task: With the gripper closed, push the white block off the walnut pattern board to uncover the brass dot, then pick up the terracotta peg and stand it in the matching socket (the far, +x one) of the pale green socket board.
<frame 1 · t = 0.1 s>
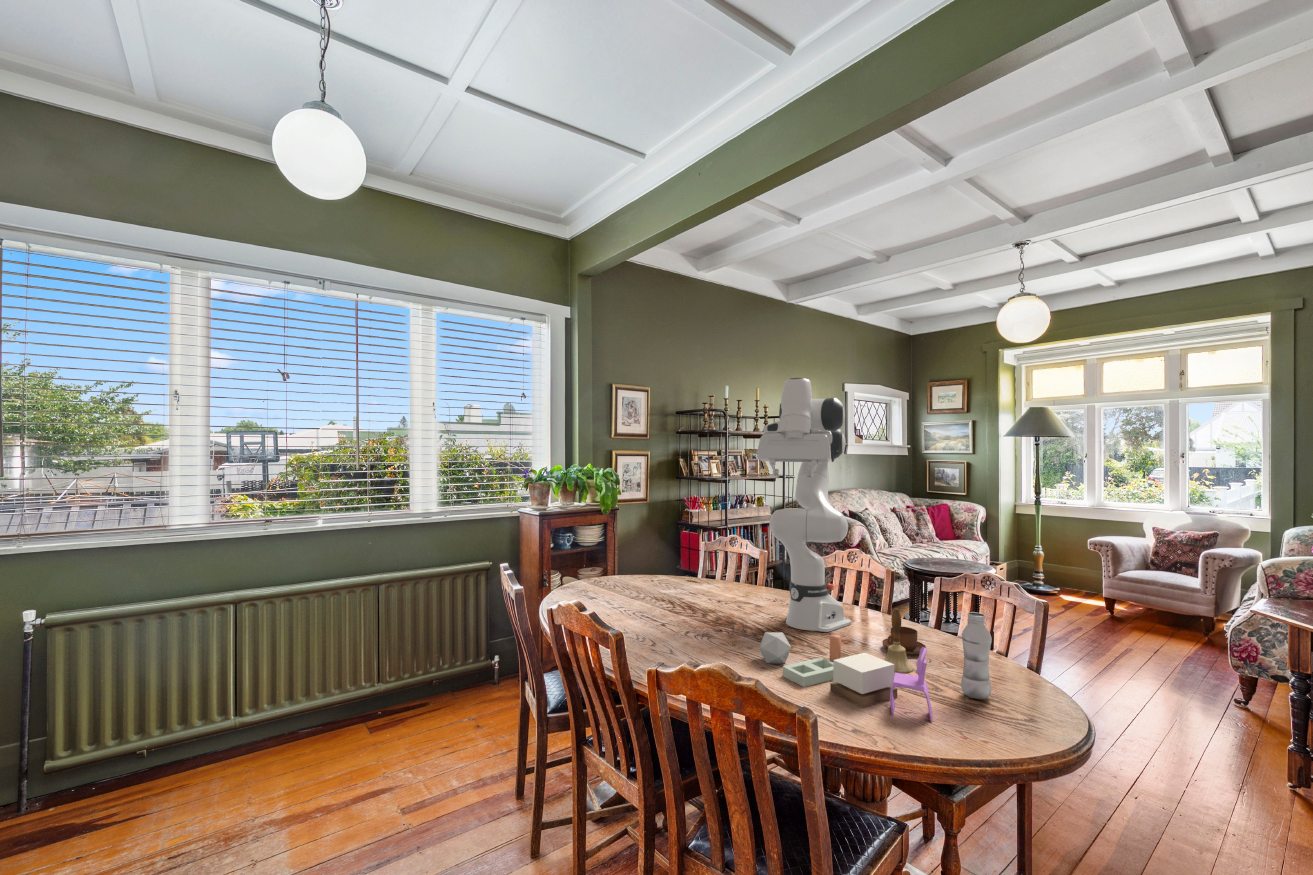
hand: (792, 476, 164), 52 cm above the table, tool tilted 20°, fingers open, 8 cm apart
socket board: (813, 676, 154), on the table
plastic bottle: (976, 698, 142), on the table
cup and saucer: (903, 651, 174), on the table
white block: (863, 672, 143), point 5 cm above the table, slide at 0.0 cm
toy chair: (911, 713, 134), on the table
terracotta peg: (835, 665, 162), on the table
die: (774, 662, 164), on the table
pattern board: (863, 694, 143), on the table
hand bell: (896, 668, 161), on the table
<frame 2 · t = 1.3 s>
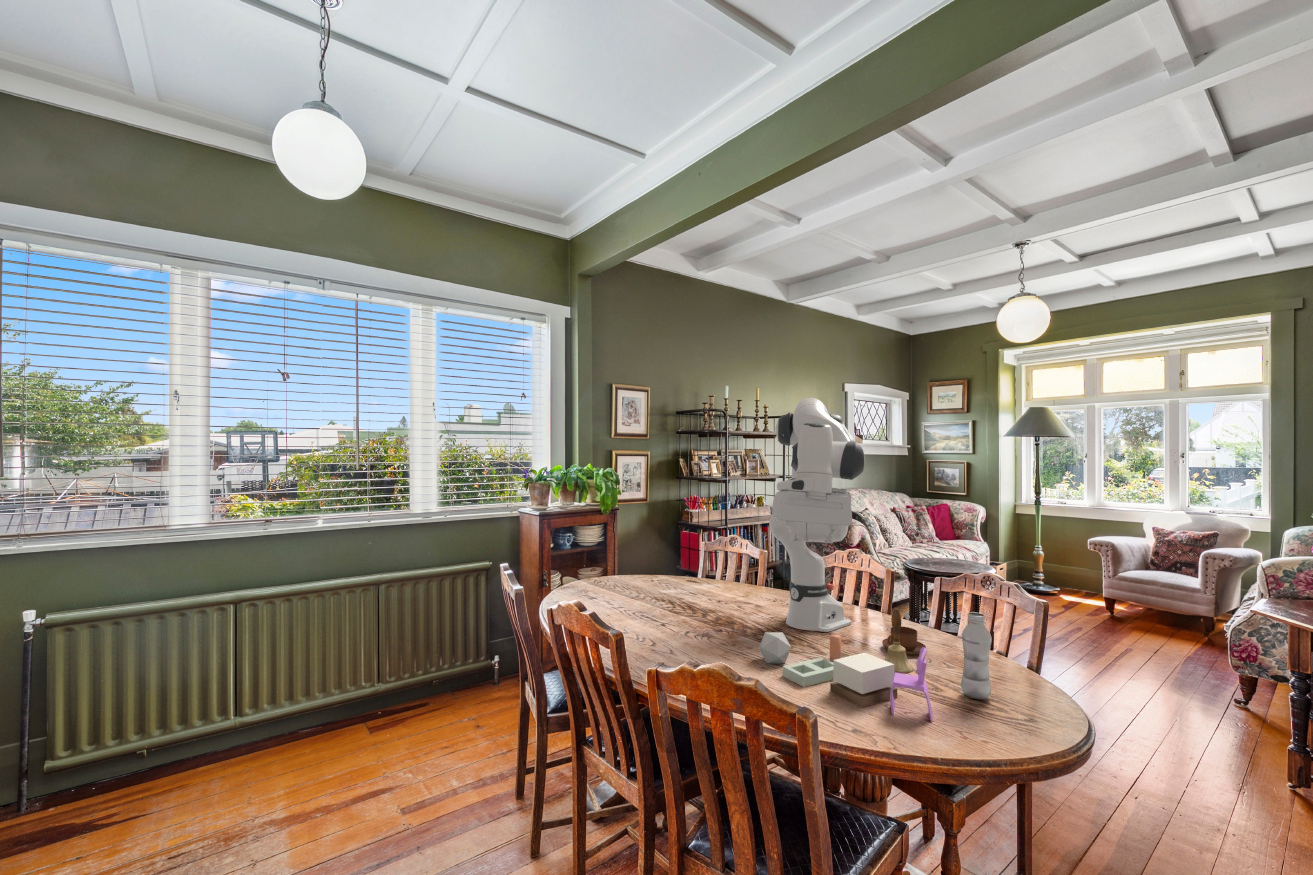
hand: (811, 542, 144), 37 cm above the table, tool pointing down, fingers open, 8 cm apart
nothing on the table moved.
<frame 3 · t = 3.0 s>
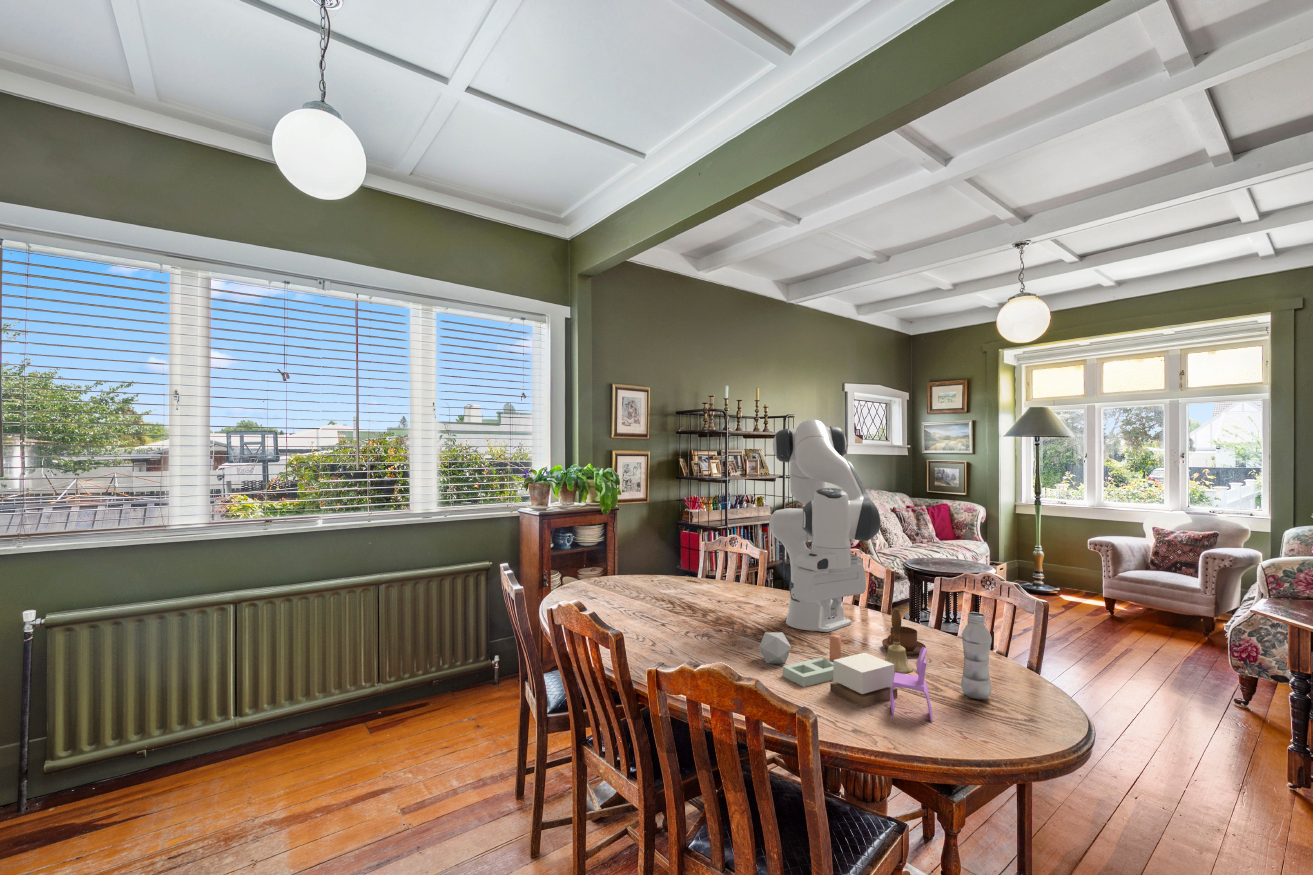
hand: (830, 616, 138), 20 cm above the table, tool pointing down, fingers closed
nothing on the table moved.
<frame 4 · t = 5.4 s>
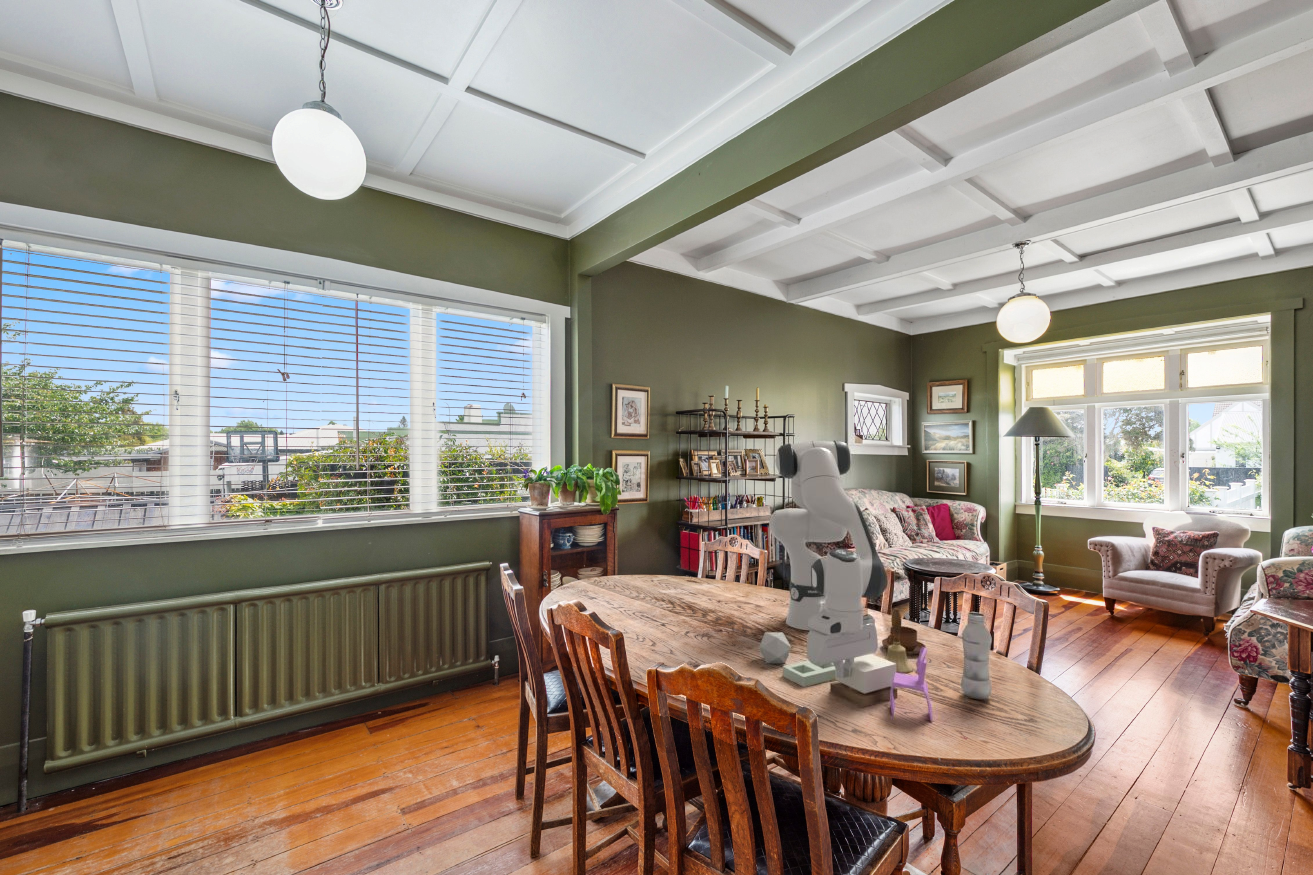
hand: (843, 676, 140), 5 cm above the table, tool pointing down, fingers closed
white block: (865, 671, 144), point 5 cm above the table, slide at 0.7 cm, touching gripper
everything else where it was.
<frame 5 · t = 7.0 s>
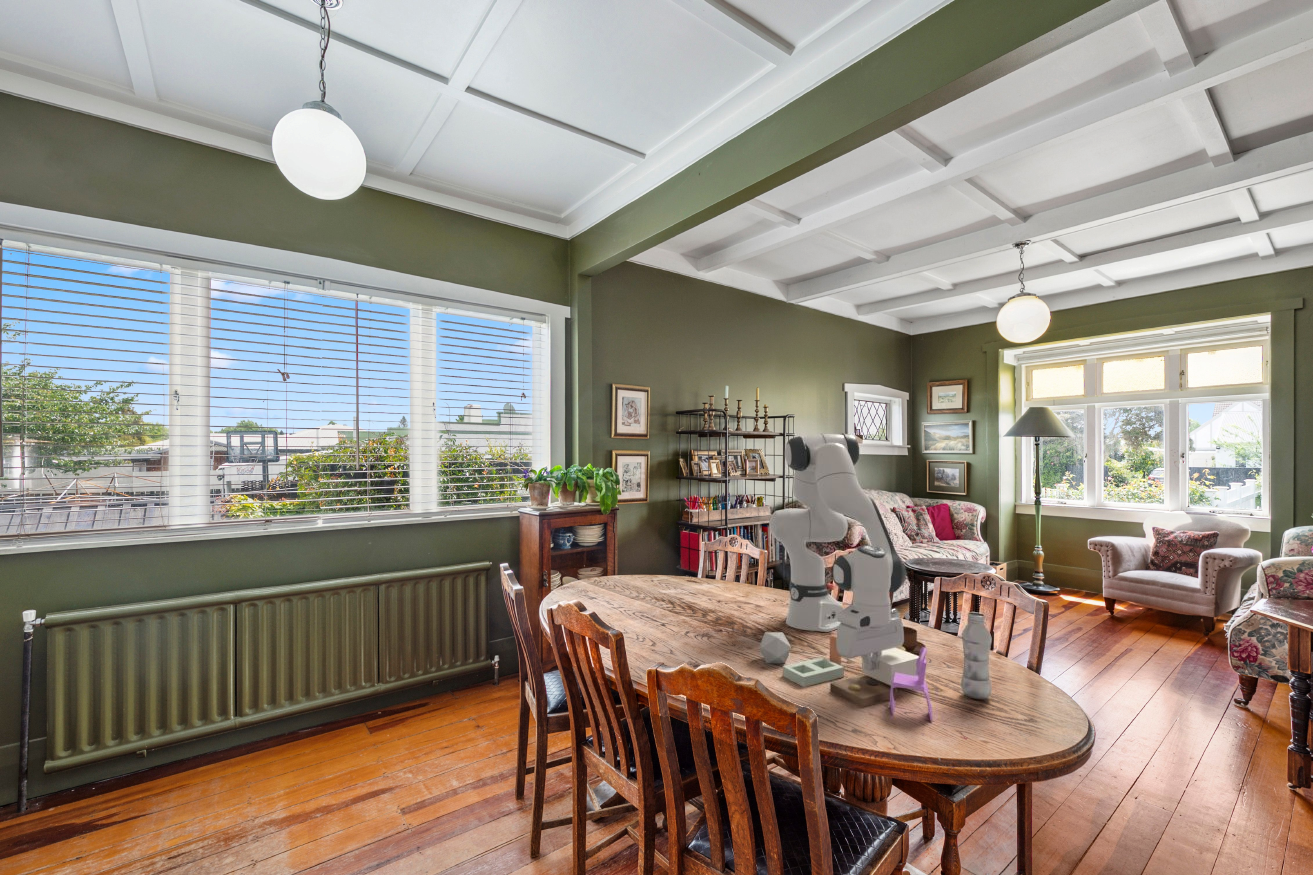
hand: (871, 669, 145), 6 cm above the table, tool pointing down, fingers closed
white block: (891, 665, 148), point 5 cm above the table, slide at 10.1 cm, touching gripper
everything else where it was.
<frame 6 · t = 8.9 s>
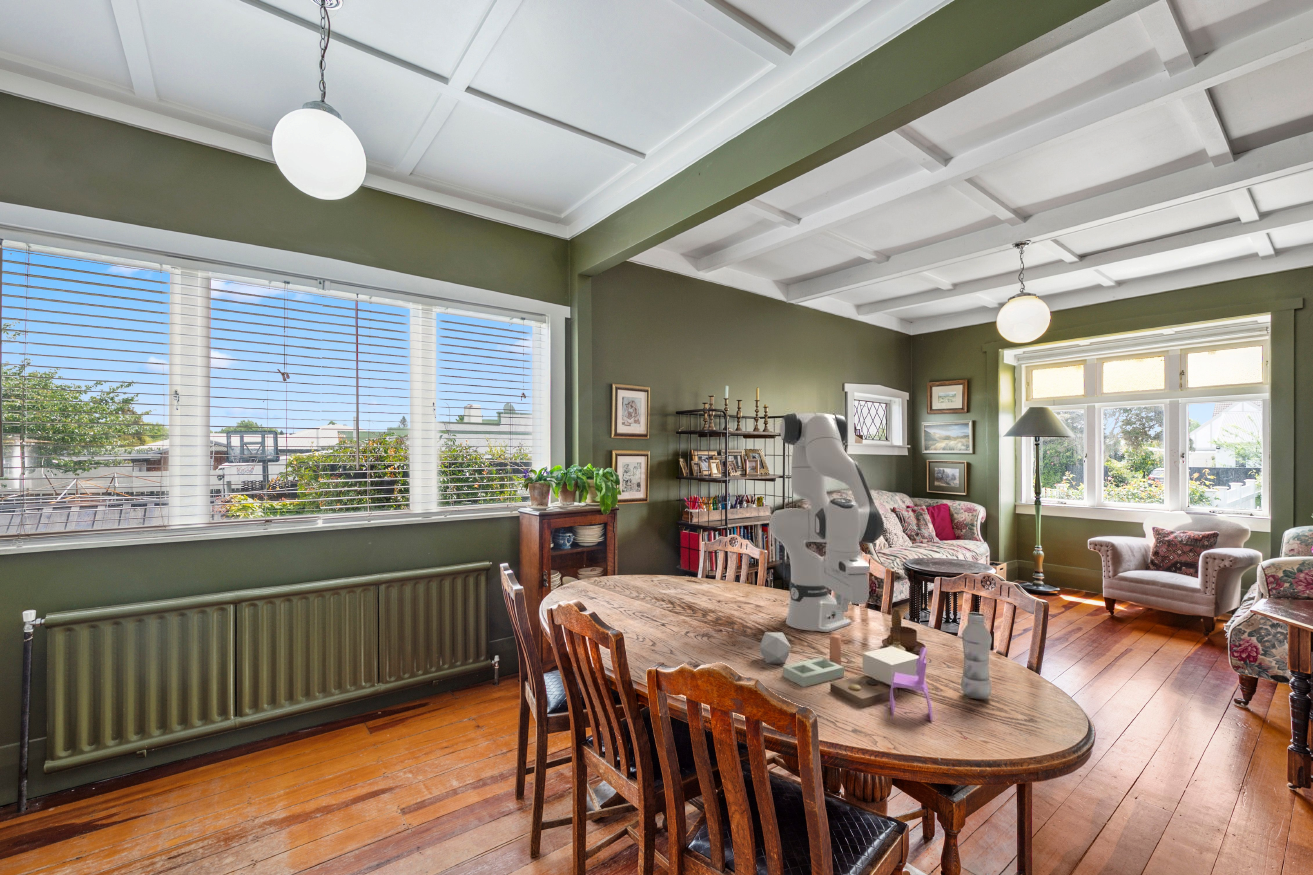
hand: (842, 610, 158), 16 cm above the table, tool pointing down, fingers closed
white block: (892, 665, 148), point 5 cm above the table, slide at 10.2 cm
everything else where it was.
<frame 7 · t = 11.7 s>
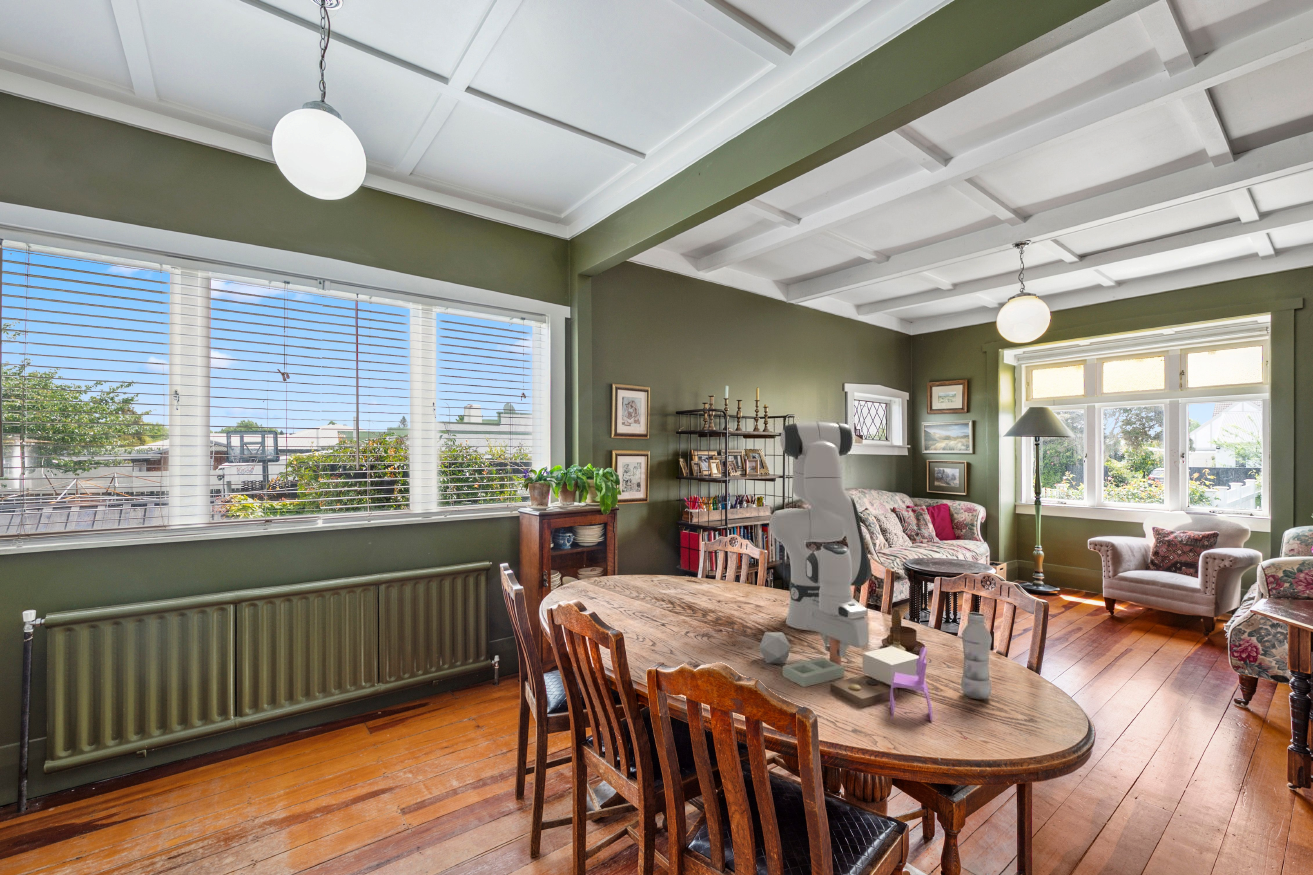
hand: (835, 653, 162), 3 cm above the table, tool pointing down, fingers closed on terracotta peg, 3 cm apart
terracotta peg: (835, 665, 162), on the table, touching gripper
everything else where it was.
when the fingers open (5 cm above the table, at t = 17.4 s): terracotta peg drops 1 cm, resting in socket board.
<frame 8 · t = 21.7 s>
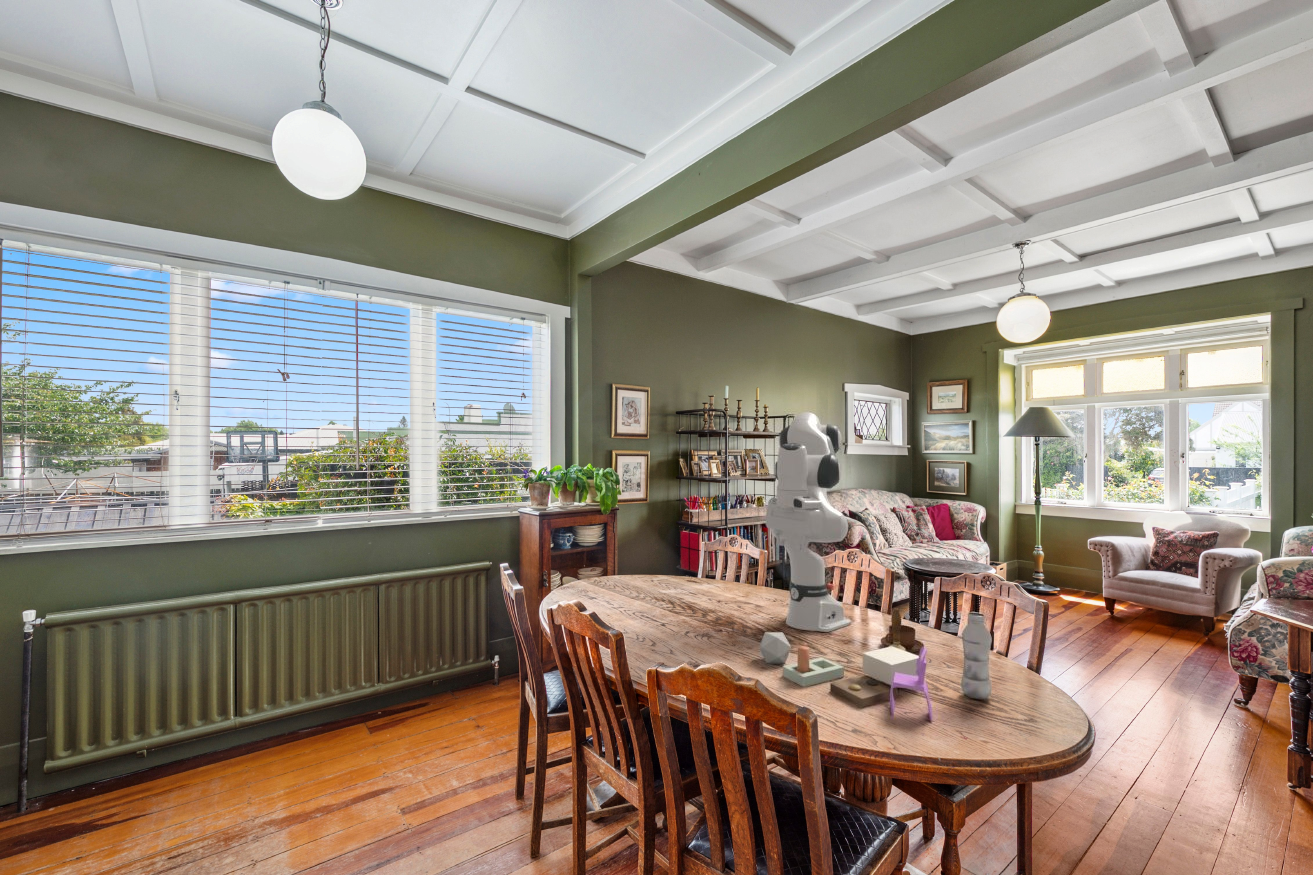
hand: (792, 547, 169), 31 cm above the table, tool pointing down, fingers open, 8 cm apart
terracotta peg: (803, 678, 152), resting in socket board
at the end: white block slide at 10.2 cm; terracotta peg 0.0 cm from the target spot on the socket board, point 0.0 cm above the socket board's base; terracotta peg tilted 0° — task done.
